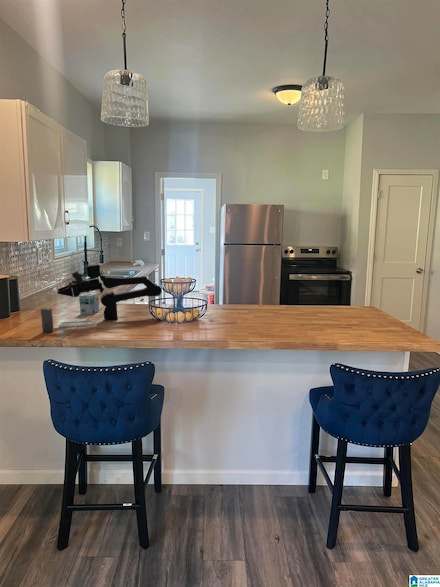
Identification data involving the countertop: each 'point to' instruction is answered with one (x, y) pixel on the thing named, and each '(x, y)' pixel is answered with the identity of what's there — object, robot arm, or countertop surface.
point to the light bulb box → (89, 303)
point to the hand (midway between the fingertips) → (57, 291)
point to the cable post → (47, 320)
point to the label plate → (76, 324)
